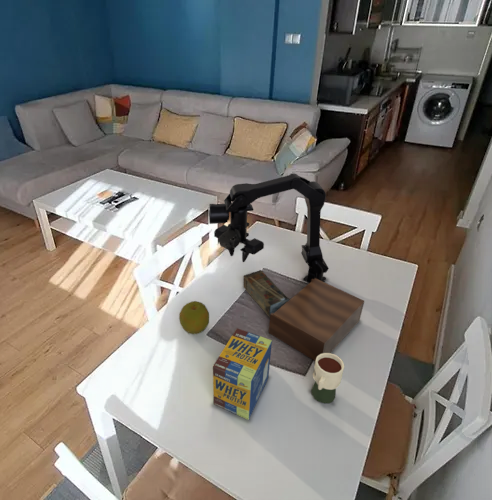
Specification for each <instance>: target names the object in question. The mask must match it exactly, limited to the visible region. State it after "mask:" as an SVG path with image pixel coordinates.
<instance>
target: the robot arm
mask: <svg viewBox="0 0 492 500" xmlns="http://www.w3.org/2000/svg"><path fill="white" fill-rule="evenodd" d="M291 190H295V191H296V192H298V193H299V194H301V196H303V198H304V202H305V205H306V208H307V211H306V214H307V215H306V243H305V244H301V252H300V254H301V256H302V258H303V260H304V262H305V264H307V266H308V270H307V275H305V276H304V277H303V279H302V280H303V281H304V282H307V283H308V284H309V283H310V282H311V280H312V279H315V278H316V279H318V280H320V281H323V282H325V281H326V280H327V277H325V276H324V273H325V274H326V273H327V272H328V271H329V269H330V268H329V266H328V265H327V262H326V261H325V259H324V256H323V252H322V248H321V243H320V241H321V240H320V239H321V212H322V209H323V207H324V206H325V202H326V198H327V193H326V191H325V190H324V189H323V187H322V186H321V185H320V184H319V182H317V181H314V180H313V181H310V180H309V179H307V178H305V177H303V176H300V175H298V174H297V173H295V172H294V173H290V174H289V175H284V176H280V177H277V178H273V179H269V180H265V181H261V182H258V183H247V182H245V183H237V184H234V185H232V186H231V188H230V190H229V193H228V194H227V196H226V198H225V199H224V200H223V202H224V203H209V204H208V205H209V206H208V223H209V225H215V224H217V225H218V224H223V225H221V226H219V227H217V228H216V229H215V230H214V232H213V234H214V235H213V237H214V238H217V241H218V244H219V246H220V247H221V248H224V249H226V250H228V253H229V256H230V257H233V256H234V255H235V249H236V248H237V247H238V246H239V245H240V244H243V247H242V248H240V252H241V261H242V263H245V262H246V261H247V259H248V257H249V255H256V254H257V253H259V252H261V251H262V250H264V249H265V243H264V241H262V240H260V239H258V238H254V237H253V238H252V239H248V238H249V236H250V233H249V232H247V231H248V227H250V222H248V212H254V210H255V209H254V207H253V205H252V204H253V203H254V202H255V201H256V200H258V199H260V198H264V197H267V196H271V195H275V194H276V195H277V194H280V193H283V192H287V191H291ZM228 221H230V222H228ZM226 223H228V224H227V225H226Z"/></svg>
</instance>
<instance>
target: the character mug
mask: <svg viewBox="0 0 492 500" xmlns="http://www.w3.org/2000/svg"><path fill="white" fill-rule="evenodd" d="M344 370H345V364H344V361H343V360H342V359H341V357H339V356H338V355H337V354H334V353H332V352H331V353H323V354H320V355H318V356H317V358H316V361H314V367H313V372H312V378H313V381H314V383H313V385H312V387H311V391H310V392H311V396H312V398H313V399H314V400H315V401H317V402H319V403H322V404H331V403H333V402H334V401H335V400H336V395H337V389H338V388H339V386H340V385H341V383H342V379H343V375H344Z"/></svg>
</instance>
